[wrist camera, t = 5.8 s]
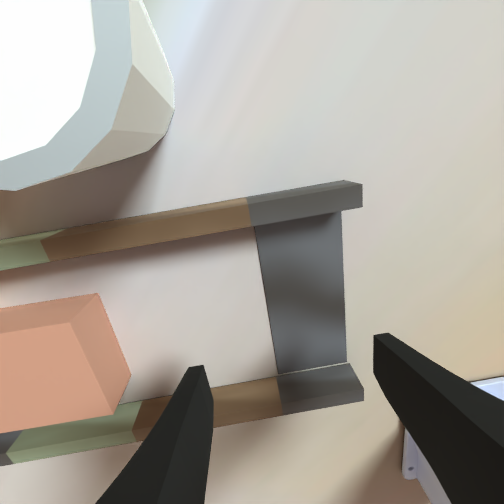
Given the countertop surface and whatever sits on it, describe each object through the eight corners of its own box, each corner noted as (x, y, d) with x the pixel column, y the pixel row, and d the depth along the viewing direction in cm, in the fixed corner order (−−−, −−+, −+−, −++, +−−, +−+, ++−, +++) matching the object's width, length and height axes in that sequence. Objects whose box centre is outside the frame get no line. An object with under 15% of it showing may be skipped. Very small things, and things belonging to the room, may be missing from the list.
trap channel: (349, 374, 18) (363, 400, 16) (-73, 450, 17) (-110, 486, 16) (343, 180, 13) (362, 184, 11) (-232, 280, 13) (-313, 302, 11)
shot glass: (138, 202, 13) (36, 252, 6) (-9, 100, 11) (-376, 16, 4) (221, 76, 11) (204, -37, 5) (66, -68, 9) (-337, -611, 3)
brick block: (133, 370, 17) (113, 414, 14) (24, 388, 17) (-18, 436, 14) (100, 290, 15) (69, 322, 12) (-25, 310, 14) (-86, 347, 12)
